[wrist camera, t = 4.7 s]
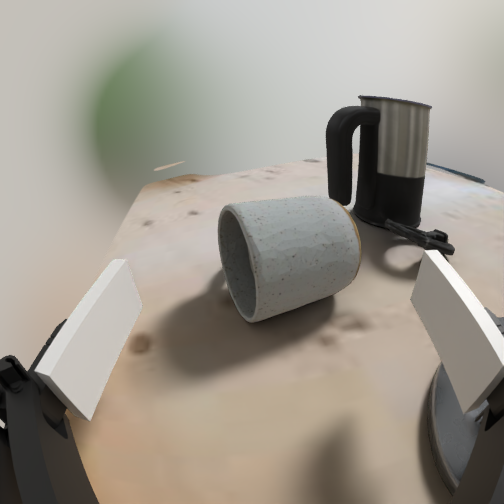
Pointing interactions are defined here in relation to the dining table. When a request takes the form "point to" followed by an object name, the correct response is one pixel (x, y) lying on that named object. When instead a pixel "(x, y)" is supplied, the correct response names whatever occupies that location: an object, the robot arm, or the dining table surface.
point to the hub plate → (451, 429)
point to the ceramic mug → (286, 253)
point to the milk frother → (384, 165)
